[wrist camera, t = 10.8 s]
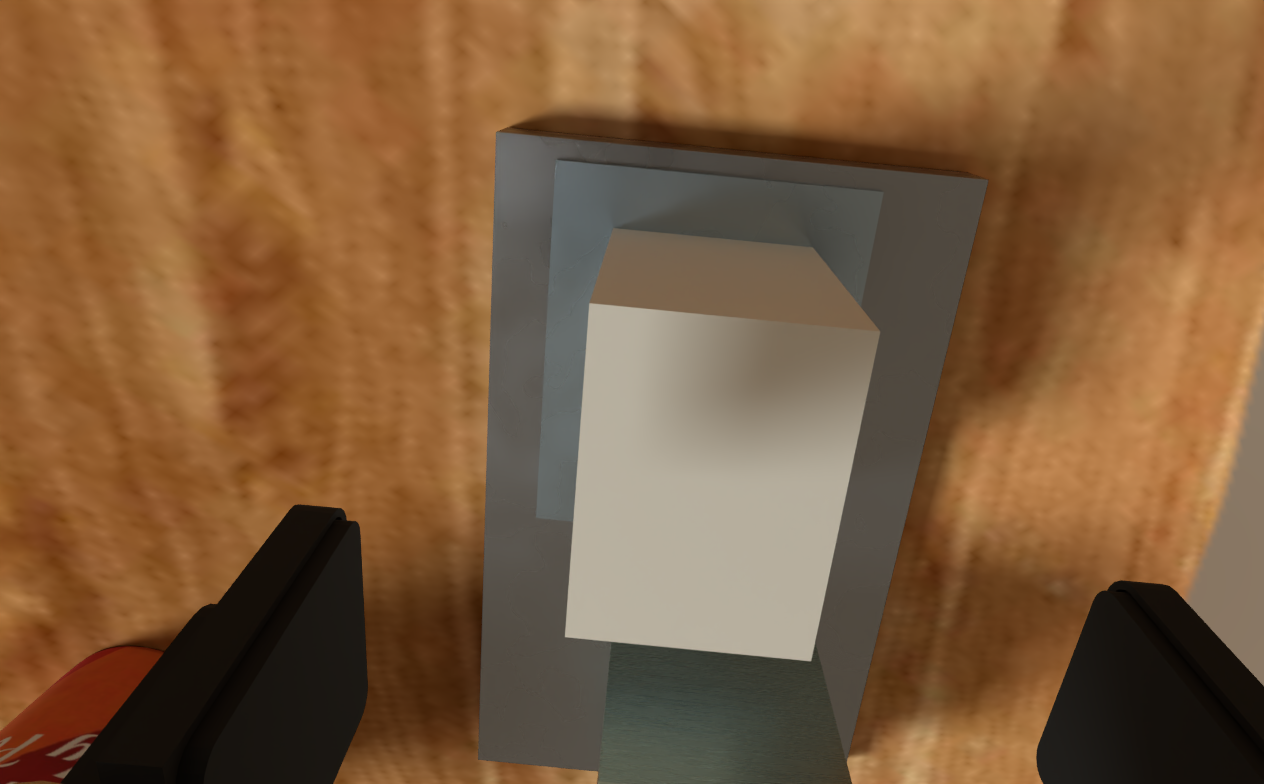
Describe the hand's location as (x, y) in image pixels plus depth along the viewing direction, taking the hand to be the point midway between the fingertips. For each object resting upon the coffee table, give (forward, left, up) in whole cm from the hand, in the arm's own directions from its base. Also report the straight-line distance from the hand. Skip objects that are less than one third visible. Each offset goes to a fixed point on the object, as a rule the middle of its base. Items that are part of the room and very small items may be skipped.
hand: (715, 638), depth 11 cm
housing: (+1, 0, -12) cm, 12 cm away
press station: (+5, +1, -14) cm, 15 cm away
